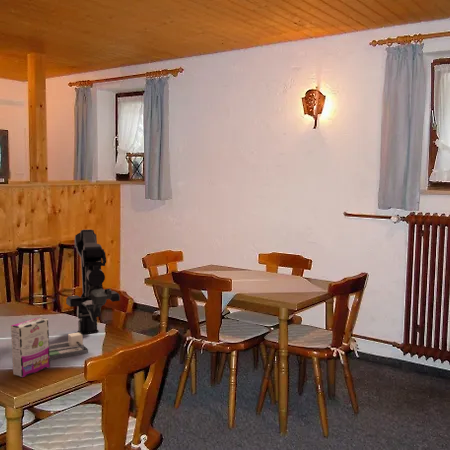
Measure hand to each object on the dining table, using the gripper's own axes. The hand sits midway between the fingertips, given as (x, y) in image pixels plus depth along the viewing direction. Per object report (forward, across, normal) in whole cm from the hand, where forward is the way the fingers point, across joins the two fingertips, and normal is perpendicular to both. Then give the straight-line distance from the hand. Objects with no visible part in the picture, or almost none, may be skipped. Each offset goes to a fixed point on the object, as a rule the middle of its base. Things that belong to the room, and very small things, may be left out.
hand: (93, 321), depth 201 cm
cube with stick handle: (+8, -7, -2) cm, 11 cm away
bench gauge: (+9, -14, 0) cm, 17 cm away
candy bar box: (+9, -26, -14) cm, 31 cm away
